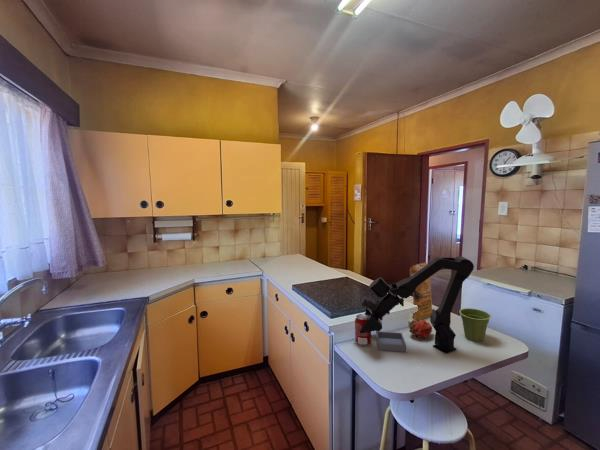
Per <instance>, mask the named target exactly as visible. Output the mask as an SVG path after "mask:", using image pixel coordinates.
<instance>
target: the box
mask: <svg viewBox="0 0 600 450" xmlns="http://www.w3.org/2000/svg"><path fill="white" fill-rule="evenodd" d="M375 334H376V335H375V337H376V346H377V351H378V352H390V353H391V352H392V353H404V354H406V353H407V344H406V341H405V338H404V335H403V333H402V332H392V331H381V330H380V331H375Z"/></svg>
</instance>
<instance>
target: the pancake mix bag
mask: <svg viewBox="0 0 600 450" xmlns="http://www.w3.org/2000/svg"><path fill="white" fill-rule="evenodd" d="M427 264H428V262H427V261H423V262H421V263H417V264H415V265H411V266H410V268H409V270H408V271H409V277H411V276H412V275H414V274H415V273H417V272H418V271H419V270H421V269H422V268H423V267H425V266H426V265H427ZM412 298H413V299H412V300H413V301H412V302H413V303H412V305H413V304H414V305H417V306H418V311H417V312H415V313H413V312H412V319H413V320H415V321H417V320H420V321H422V320H425V319H426V318H429V316H430V315H431V313H432V309H433V303H432V302H433V301H432V284H431V277H429V278H428V279H427V280H425V281H424V282H422V283H421V284H420V285H419V286H418V287H417V288H416V290H415V291H414V292H413V293H412Z"/></svg>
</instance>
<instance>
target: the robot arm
mask: <svg viewBox="0 0 600 450" xmlns="http://www.w3.org/2000/svg"><path fill="white" fill-rule="evenodd" d="M442 269H445V270H450V277H449V278H450V279H449V281H448V284H447V286H446V289H445V291H444V293H443V297H442V299H441V301H440V304H439V305H438V308H436V309H434V308H432V313H431V315H430V316H428V318H429V323H430V325H431V327H432V328H433V329H434V330H435V333H434V344H433V345H432V347H433V348H435V349H436V350H437V351H440V352H441V353H444V354H446V355H447V354H450V353H452V352H455V351H457V348H456V347H455V338H456V336H457V334H456V333H455V331H454V330H453V329H452V328H451V324H452V323H451V313H452V310H453V309H454V306H455V303H456V302H457V298H458V296H459V293H460V291H461V288H462V285H463V283H464V282H465V281H466V280H467V279H468V278H469V277H470V275H471V274H472V272H473V271H474V269H475V264H474V263H473V262H472V261H471V260H469V259H468V258H466V257H464V256H461V255H460V256H458V255H457V256H456V257H447V256H446V257H441V256H437V257H434V259H433V260H431V261H430V262H428V263H427V265H426V266H425V267H423V268H422V269H421V270H419V271H418V272H417V273H415V274H414V275H412V276H411V277H410V276H408V277H405V278H402V279H401V280H398V281H397V282H396V283H388V284H387V282H385V280H384V279H383V278H382V277H381V276H380V277H378V278H376V279H374V280H373V281H372V282H371V283H370V284H369V285H368V289H369V290H370V291H371V292H373V294H374V295H376V296H377V297H378V298H381V299H377V300H374V299H373V298H370V297H368V296H366V295H363V297H362V298H361V301H360V306H363V307H364V308H365V312H364V314H365V315H368V318H367V322H366V324H365V325H364V326H363V327H362V329H361V330H360V331H359V332H360V333H361V334H362V333H366V332H371V333H372V332H376V331H381V330H383V324H382V321H383V320H384V317H385V316H386V315H390V312H391V310H393V309H394V308H395V307H396V306H397V305H398V304H399V305H400V306H401V307H404V301H405V300H404V299H408V298H410V297H411V295H413V292H414V291H415V290H416V288H417V287H418V286H419V285H420V284H421V283H422V282H424V281H425V280H427V279H428V278H429V277H430V278H431V277H432V276H434V275H435V274H436V273H438V272H439V271H440V270H442Z"/></svg>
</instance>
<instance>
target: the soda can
mask: <svg viewBox="0 0 600 450" xmlns="http://www.w3.org/2000/svg"><path fill="white" fill-rule="evenodd" d="M367 318H368V315H365V313H359V314H356V316H355V319H354V335H355V336H354V337H355V340H354V341H355V343H356V344H357V345H360V346H364V347H366V346H369V345H371V344H372V331H371V332H366V333H362V334H361V333H360V332H359V331H360V330H361V329H362V327H363V326H364V325H365V324H366V322H367Z"/></svg>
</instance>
